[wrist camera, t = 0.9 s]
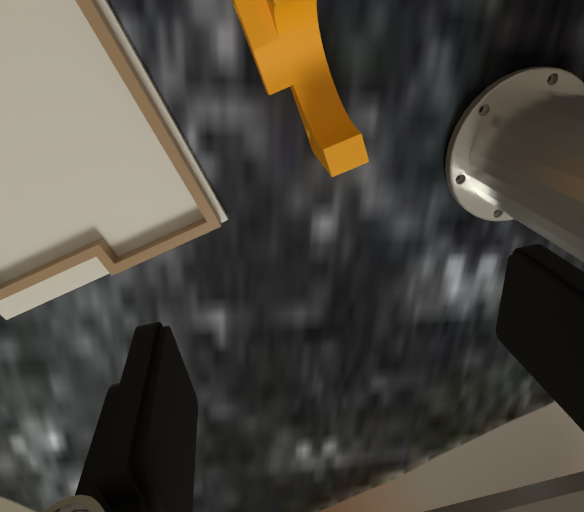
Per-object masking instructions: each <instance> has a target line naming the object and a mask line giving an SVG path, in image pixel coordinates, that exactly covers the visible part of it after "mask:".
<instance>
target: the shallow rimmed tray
mask: <svg viewBox="0 0 584 512" xmlns="http://www.w3.org/2000/svg"><path fill="white" fill-rule="evenodd" d="M226 220H228V216H227V214H226V212H225V211H224V209H223V207H222V205H221V203H220V202H219V200H218V198H217V196H216V194H215V193H214V191H213V189H212V187H211V185H210V184H209V182H208V180H207V178H206V177H205V175H204V173H203V171H202V169H201V168H200V166H199V164H198V162H197V160H196V159H195V157H194V155H193V153H192V151H191V150H190V148H189V146H188V144H187V142H186V141H185V139H184V137H183V135H182V133H181V132H180V130H179V128H178V126H177V124H176V123H175V121H174V119H173V117H172V116H171V114H170V112H169V110H168V108H167V107H166V105H165V103H164V101H163V99H162V98H161V96H160V94H159V92H158V90H157V89H156V87H155V85H154V83H153V81H152V80H151V78H150V76H149V74H148V72H147V71H146V69H145V67H144V65H143V63H142V62H141V60H140V58H139V56H138V54H137V53H136V51H135V49H134V47H133V46H132V44H131V42H130V40H129V38H128V37H127V35H126V33H125V31H124V29H123V28H122V26H121V24H120V22H119V20H118V19H117V17H116V15H115V13H114V11H113V10H112V8H111V6H110V4H109V2H108V1H107V0H0V315H2V316H3V317H4V318H5V319H6V320H7V319H10V318H12V317H14V316H16V315H18V314H21V313H23V312H25V311H27V310H29V309H32V308H34V307H36V306H38V305H41V304H43V303H45V302H47V301H49V300H52V299H54V298H56V297H58V296H60V295H63V294H65V293H67V292H69V291H72V290H74V289H76V288H78V287H80V286H83V285H85V284H87V283H89V282H91V281H94V280H96V279H98V278H100V277H103V276H105V275H107V274H109V273H110V274H111V275H115V274H117V273H119V272H121V271H124V270H126V269H128V268H130V267H132V266H135V265H137V264H139V263H141V262H143V261H146V260H148V259H150V258H152V257H155V256H157V255H159V254H161V253H163V252H166V251H168V250H170V249H172V248H175V247H177V246H179V245H181V244H183V243H186V242H188V241H190V240H192V239H194V238H197V237H199V236H201V235H203V234H206V233H208V232H210V231H212V230H214V229H217V228H219V227H221V223H222V222H224V221H226Z"/></svg>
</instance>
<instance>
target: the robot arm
mask: <svg viewBox="0 0 584 512" xmlns="http://www.w3.org/2000/svg"><path fill="white" fill-rule="evenodd" d="M479 109H480V110H479ZM445 173H446V179H447V184H448V187H449V189H450V192H451V194H452V196H453V197H454V198H455V200H456V201H457V203H458V204H459V205H461V206H462V207H463V208H464V209H465V210H467V211H468V212H470V213H471V214H473V215H474V216H476V217H479V218H482V219H485V220H490V221H506V220H512V219H516V220H517V221H519V222H520V223H522V224H524V225H525V226H527V227H528V228H530V229H532V230H533V231H535V232H536V233H538V234H540V235H541V236H543V237H544V238H546V239H548V240H549V241H551V242H552V243H554V244H556V245H557V246H559V247H560V248H562V249H564V250H565V251H567V252H568V253H570V254H572V255H573V256H575V257H576V258H578V259H580V260H581V261H583V262H584V83H583V81H582V80H581V79H579V78H578V77H577V76H575V75H574V74H573V73H571V72H568V71H565V70H563V69H560V68H552V67H529V68H525V69H521V70H517V71H515V72H512V73H510V74H508V75H506V76H504V77H501V78H500V79H499V80H497V81H496V82H494V83H493V84H491V85H490V86H488V87H487V88H486V89H485V90H484V91H483V92H481V93H480V94H479V95H478V96H477V97H476V98H475V99H474V100H473V101H472V103H471V104H470V105H469V106H468V108H467V109H466V110H465V111H464V113H463V114H462V116H461V118H460V119H459V121H458V123H457V125H456V126H455V128H454V131H453V133H452V136H451V138H450V141H449V145H448V149H447V153H446V163H445ZM496 334H497V337H498V339H499V340H500V342H501V343H502V344H503V345H504V346H505V347H506V348H507V349H508V350H509V351H510V352H511V354H512V355H513V356H514V357H515V358H516V359H517V360H518V361H519V362H520V363H521V364H522V365H523V366H524V368H525V369H526V370H527V371H528V372H529V373H530V374H531V375H532V376H533V377H534V378H535V379H536V381H537V382H538V383H539V384H540V385H541V386H542V387H543V388H544V389H545V390H546V391H547V392H548V393H549V395H550V396H551V397H552V398H553V399H554V400H555V401H556V402H557V403H558V404H559V405H560V406H561V407H562V409H564V411H565V412H566V413H567V414H568V415H569V416H570V417H571V418H572V419H573V420H574V422H575V423H576V424H577V425H578V426H579V427H580V428H581V429H582V430H583V431H584V272H583V271H581V270H580V269H578V268H577V267H575V266H573V265H572V264H570V263H569V262H567V261H566V260H564V259H563V258H561V257H559V256H558V255H556V254H555V253H553V252H552V251H550V250H549V249H547V248H545V247H544V246H542V245H540V244H535V245H530V246H526V247H521V248H517V249H515V250H514V252H513V254H512V255H510V257H509V258H508V263H507V268H506V274H505V280H504V285H503V291H502V297H501V302H500V308H499V314H498V319H497V325H496ZM197 416H198V403H197V397H196V394H195V391H194V389H193V386H192V383H191V381H190V378H189V375H188V373H187V370H186V367H185V365H184V362H183V360H182V357H181V354H180V352H179V349H178V346H177V344H176V341H175V338H174V336H173V333H172V330H171V328H170V327H169V326H165V327H163V326H162V324H161V323H160V322H156V323H151V324H147V325H142V326H138V327H136V329H135V332H134V336H133V339H132V343H131V346H130V350H129V353H128V357H127V360H126V364H125V367H124V371H123V374H122V378H121V381H120V383H118V384H114V385H112V386H111V387H110V388H109V390H108V392H107V395H106V398H105V401H104V404H103V407H102V411H101V414H100V417H99V420H98V423H97V427H96V430H95V433H94V436H93V439H92V442H91V446H90V449H89V452H88V455H87V458H86V462H85V465H84V468H83V471H82V474H81V478H80V481H79V484H78V487H77V490H76V494H75V496H70V497H67V498H65V499H63V500H60V501H58V502H56V503H55V504H53V505H52V506H50V507H49V508H48V509H46V510H45V511H43V512H192V506H193V488H194V470H195V452H196V434H197ZM425 512H584V471H583V472H579V473H575V474H571V475H567V476H563V477H559V478H555V479H551V480H547V481H543V482H539V483H536V484H531V485H527V486H523V487H519V488H515V489H511V490H508V491H504V492H500V493H496V494H492V495H488V496H484V497H480V498H476V499H473V500H469V501H465V502H461V503H457V504H453V505H449V506H445V507H441V508H437V509H433V510H429V511H425Z"/></svg>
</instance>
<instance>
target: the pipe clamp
mask: <svg viewBox="0 0 584 512" xmlns="http://www.w3.org/2000/svg"><path fill="white" fill-rule="evenodd" d="M232 3H233V5H234V8H235V10H236V13H237V16H238V18H239V21H240V24H241V26H242V29H243V32H244V34H245V37H246V39H247V42H248V45H249V47H250V50H251V53H252V55H253V58H254V61H255V63H256V66H257V68H258V71H259V74H260V76H261V79H262V82H263V84H264V87H265V90H266V92H267V93H268V94H269V95H271V94H273V93H276V92H278V91H280V90H283V89H285V88H287V87H291V90H292V93H293V96H294V99H295V102H296V104H297V107H298V110H299V113H300V116H301V119H302V122H303V125H304V128H305V130H306V133H307V136H308V139H309V142H310V145H311V148H312V151H313V153H314V154H315V156H316V157H317V158H318V160H319V161H320V162H321V163H322V165H323V166H324V167H325V169H326V170H327V171H328V172H329V174H330V175H331V176H332V177H334V176H336V175H338V174H341V173H343V172H346V171H348V170H350V169H353V168H355V167H358V166H360V165H363V164H365V163H367V162H369V160H368V156H367V152H366V149H365V145H364V141H363V138H362V134H361V133H360V132H359V131H358V130H357V129H356V127H355V126H354V125H353V123H352V122H351V120H350V118H349V117H348V115H347V113H346V111H345V109H344V107H343V105H342V102H341V100H340V98H339V95H338V93H337V90H336V88H335V85H334V82H333V80H332V77H331V74H330V71H329V67H328V64H327V61H326V57H325V53H324V49H323V45H322V41H321V36H320V31H319V25H318V18H317V6H316V0H232Z"/></svg>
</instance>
